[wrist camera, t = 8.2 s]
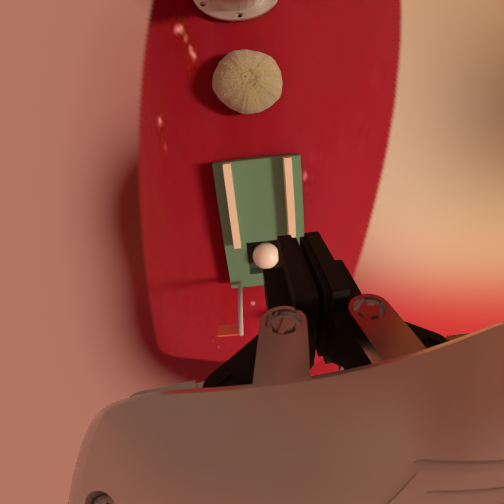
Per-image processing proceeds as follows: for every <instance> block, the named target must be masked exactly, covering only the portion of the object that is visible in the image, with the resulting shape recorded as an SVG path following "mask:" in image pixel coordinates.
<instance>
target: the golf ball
mask: <svg viewBox="0 0 504 504" xmlns="http://www.w3.org/2000/svg"><path fill="white" fill-rule="evenodd" d="M253 260H254V262H255V264H256V265H257V266H258V267H260V268H263V269H267V268H272V267H274V266H275V265H276V264H277V262H278V249H277V248H276V247H275V246H274V245H273V244H271V243H261V244H259V245H258V246H257V247H256V248H255V249H254V251H253Z"/></svg>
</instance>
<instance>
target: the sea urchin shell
mask: <svg viewBox="0 0 504 504" xmlns="http://www.w3.org/2000/svg"><path fill="white" fill-rule="evenodd" d="M282 84H283V82H282V77H281V70H280V69H279V67H278V65H277V63H276V62H275V60H274V59H273V58H271V56H268V55H266V54H264V53H261V52H260V51H252V50H247V49H246V50H236V51H235V50H234V51H232V52H230V53H228V54H227V55H226V56H225V57H224V58H223V59H222V60H221V61H220V62H219V63H218V66H217V68H216V70H215V72H214V73H213V80H212V88H213V91H214V93H215V94H216V95H217V97H218V98H219V99H220V101H221V102H223V103H224V104H225V105H226V106H228V107H229V108H230V109H232V110H234V111H237V112H239V113H242V114H253V113H259V112H261V111H263V110H265V109H267V108H269V107H271V105H272V104H274V103H275V102H276V101H277V100H278V99H279V97H280V95H281V94H282Z"/></svg>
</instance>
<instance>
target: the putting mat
mask: <svg viewBox="0 0 504 504" xmlns="http://www.w3.org/2000/svg"><path fill="white" fill-rule="evenodd" d="M212 168H213V175H214V182H215V188H216V195H217V202H218V208H219V215H220V221H221V228H222V234H223V240H224V246H225V253H226V259H227V265H228V271H229V277H230V282H231V288H238V324H227V325H218V334H217V336H218V337H221V336H233V335H239V336H242V335H243V307H242V287H249V286H258V285H264V279H263V268H260V267H258V266H257V265H256V264H255V262H254V260H253V251H254V249H255V248H256V247H257V246H258V245H259V244H261V243H271V244H273V245H274V246H275V247H276V248H277V249H278V246H277V236H282V235H291V236H292V238H295V237H296V238H297V240H298V243H299V245H300V242H299V240H300V237H304V217H303V193H302V174H301V157H300V155H299V154H284V155H272V156H261V157H251V158H242V159H234V160H226V161H218V162H213V164H212ZM276 267H279V262H277V264H276V265H275V266H274V267H272V268H276Z"/></svg>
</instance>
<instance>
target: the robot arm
mask: <svg viewBox="0 0 504 504" xmlns="http://www.w3.org/2000/svg"><path fill="white" fill-rule="evenodd" d="M193 1H194V3H195V5H196V6H197V7H198V9H200V10H201V11H202V12H203V13H204V14H206V15H208V16H210V17H212V18H215V19H218V20H222V21H231V22H238V21H246V20H251V19H254V18H257V17H260V16H262V15H263V14H265V13H267V12H268V11H269V10H271V9H272V8H273V7H274V6H275V4H276V3H277V1H278V0H193ZM203 5H205V6H203ZM202 6H203V7H202ZM238 16H241V17H238ZM299 242H300V245H299V243H298V240H297V238H296V237H295V238H292V236H291V235H282V236H277V246H278V262H279V267H276V268H267V269H263V279H264V289H265V298H266V306H267V312H265V313H264V314H263V316H262V317H261V320H260V325H259V334H258V335H257V336H256V337H255V338H253V339H252V340H251V341H250V342H249V343H248V344H246V345H245V346H244V347H243V348H242V349H241V350H239V351H238V352H237V353H236V354H235V355H233V356H232V357H231V358H230V359H229V360H227V361H226V362H225V363H224V364H223V365H221V366H220V367H219V368H218V369H216V370H215V371H214V372H213V373H212V374H210V376H209V377H207V379H206V380H205V382H201V383H195V381H191V382H186V383H181V384H176V385H171V386H167V387H161V388H156V389H150V390H145V391H140V392H137V393H134V394H133V395H132V396H130V397H129V398H126V399H122V400H119V401H117V402H115V403H112V404H111V405H108V406H106V407H105V408H104V409H102V410H101V411H100V412H99V413H98V414H97V415H96V416H95V418H94V419H93V420H92V422H91V424H90V426H89V427H88V430H87V432H86V434H85V437H84V439H83V442H82V445H81V448H80V451H79V454H78V458H77V462H76V466H75V469H74V474H73V478H72V483H71V489H70V495H69V502H68V504H504V322H501V323H497V324H495V325H492V326H489V327H486V328H484V329H481V330H478V331H475V332H473V333H468V334H458V335H449V336H447V337H446V338H445V337H443V336H442V335H440V334H437V333H435V332H432V331H429V330H427V329H424V328H421V327H418V326H416V325H413V324H410V323H408V322H405V321H404V320H403V319H402V318H401V317H400V316H399V315H398V313H397V312H396V311H395V310H394V309H393V308H392V307H391V305H390V304H389V303H388V302H387V301H386V300H385V299H384V298H382V297H380V296H377V295H373V294H361V292H360V290H359V289H358V287H357V285H356V283H355V281H354V280H353V278H352V276H351V275H350V273H349V271H348V269H347V268H346V266H345V264H344V263H343V261H342V260H334V258H333V257H332V255H331V253H330V251H329V250H328V248H327V246H326V244H325V243H324V241H323V239H322V238H321V236H320V234H319V232H310V233H304V237H300V240H299ZM315 350H317V354H318V356H323V358H324V361H325V364H327V363H335V364H337V365H338V370H339V371H336V372H331V373H326V374H320V375H315V376H310V369H311V368H312V366H313V365H314V357H315Z"/></svg>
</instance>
